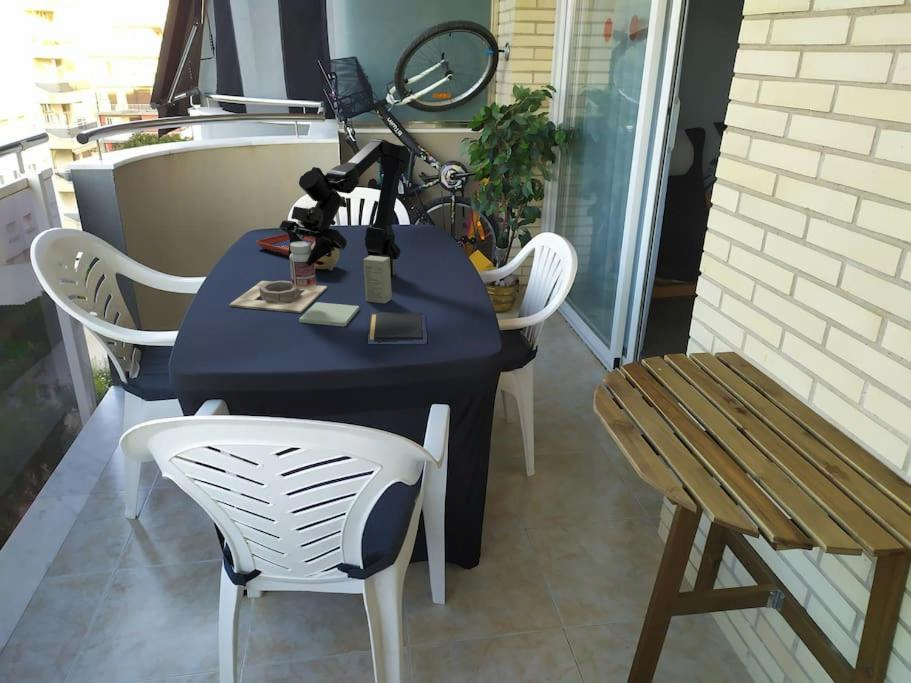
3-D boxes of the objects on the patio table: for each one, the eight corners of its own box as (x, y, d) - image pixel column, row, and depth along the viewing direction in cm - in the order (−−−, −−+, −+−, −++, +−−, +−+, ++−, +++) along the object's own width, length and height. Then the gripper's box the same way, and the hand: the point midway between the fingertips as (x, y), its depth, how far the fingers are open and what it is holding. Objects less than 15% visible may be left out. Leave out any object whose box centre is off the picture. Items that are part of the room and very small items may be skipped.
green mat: (359, 309, 173) (359, 306, 172) (344, 326, 162) (344, 322, 161) (316, 305, 174) (316, 302, 174) (299, 322, 164) (299, 318, 163)
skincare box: (392, 299, 180) (391, 257, 175) (385, 304, 177) (384, 261, 172) (371, 296, 182) (370, 254, 177) (364, 301, 179) (362, 258, 174)
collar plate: (327, 288, 187) (326, 278, 186) (300, 313, 169) (300, 302, 168) (262, 282, 190) (261, 272, 189) (229, 306, 172) (228, 295, 171)
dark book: (428, 340, 153) (363, 339, 152) (428, 347, 153) (363, 347, 153) (427, 309, 171) (370, 308, 170) (427, 315, 172) (370, 315, 171)
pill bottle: (320, 285, 170) (318, 243, 165) (303, 291, 165) (299, 248, 160) (304, 280, 173) (301, 239, 168) (286, 286, 168) (283, 244, 164)
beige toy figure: (302, 275, 197) (300, 241, 193) (312, 263, 208) (310, 231, 204) (334, 276, 197) (333, 242, 193) (342, 264, 208) (341, 232, 204)
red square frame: (296, 239, 235) (295, 230, 233) (331, 248, 225) (330, 239, 224) (255, 250, 221) (254, 240, 220) (291, 260, 212) (290, 250, 211)
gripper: (281, 188, 167) (253, 240, 163) (336, 198, 158) (308, 252, 154) (304, 213, 176) (278, 262, 172) (358, 223, 167) (332, 275, 163)
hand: (298, 262), depth 165 cm, fingers closed on pill bottle, 6 cm apart
